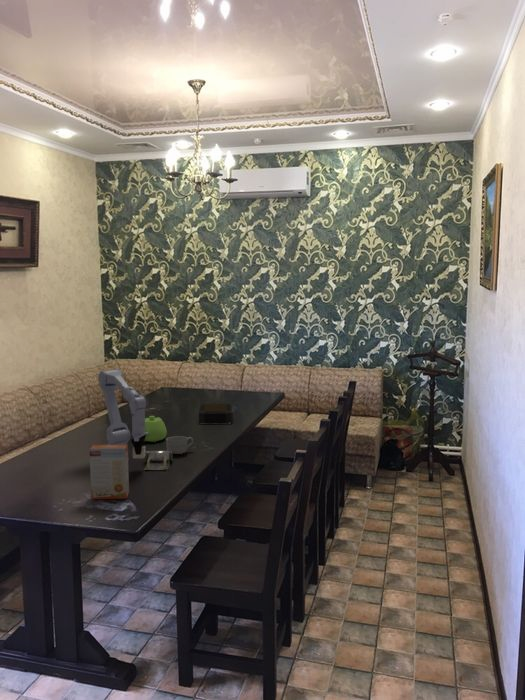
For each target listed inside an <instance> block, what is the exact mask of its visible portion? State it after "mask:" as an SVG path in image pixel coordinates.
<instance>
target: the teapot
mask: <svg viewBox="0 0 525 700" xmlns="http://www.w3.org/2000/svg"><path fill="white" fill-rule="evenodd" d="M145 432H148V434H147V435H146V437H145V440H144V442H152V443H153V442H155V443H157V442H159V441H162V440H164V439H165V438H166V436H167V433H168V431H167V427H166V425H165V422H164V421H163V419H162V418H161V417H159V416H158V417H156V416H155V415H149V416H148V417H145ZM156 441H157V442H156Z"/></svg>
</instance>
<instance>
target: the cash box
mask: <svg viewBox="0 0 525 700" xmlns="http://www.w3.org/2000/svg"><path fill="white" fill-rule="evenodd" d="M232 418H233V410H232V404H231V403H200V405H199V409H198V424H199V423H229V422H232V421H233V420H232Z"/></svg>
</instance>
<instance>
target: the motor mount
mask: <svg viewBox="0 0 525 700" xmlns="http://www.w3.org/2000/svg"><path fill="white" fill-rule="evenodd" d="M173 457H174V455H173V450H170V451H167V450H146V455H145V457H144V462H146V464H145V467H144V470H164V469H168V467H169V466H167V465H169V464H170V465H171V463H168V461H171V462H173V459H174V458H173ZM167 463H168V464H167ZM169 468H170V467H169Z"/></svg>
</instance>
